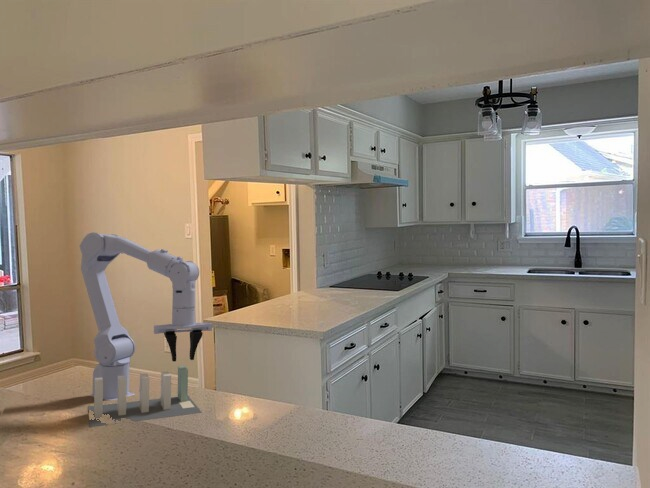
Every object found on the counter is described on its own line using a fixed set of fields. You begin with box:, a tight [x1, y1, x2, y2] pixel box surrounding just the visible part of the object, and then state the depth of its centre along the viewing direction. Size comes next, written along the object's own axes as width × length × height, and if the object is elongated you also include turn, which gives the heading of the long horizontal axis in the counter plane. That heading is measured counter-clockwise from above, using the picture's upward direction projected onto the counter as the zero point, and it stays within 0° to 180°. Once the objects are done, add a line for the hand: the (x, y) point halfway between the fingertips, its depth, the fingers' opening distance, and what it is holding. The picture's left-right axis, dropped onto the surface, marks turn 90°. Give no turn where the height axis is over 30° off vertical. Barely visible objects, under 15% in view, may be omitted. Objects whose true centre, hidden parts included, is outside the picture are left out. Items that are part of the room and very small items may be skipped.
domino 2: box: [116, 375, 127, 415], centre depth 117 cm, size 2×5×8 cm, turn 26°
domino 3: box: [138, 373, 150, 413], centre depth 119 cm, size 2×5×8 cm, turn 26°
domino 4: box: [160, 371, 172, 410], centre depth 121 cm, size 2×5×8 cm, turn 26°
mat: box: [87, 395, 203, 428], centre depth 119 cm, size 24×17×1 cm
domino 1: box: [93, 378, 104, 418], centre depth 114 cm, size 2×5×8 cm, turn 26°
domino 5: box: [177, 365, 189, 402], centre depth 128 cm, size 2×5×8 cm, turn 26°
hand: (183, 360), depth 128 cm, fingers open, 4 cm apart
